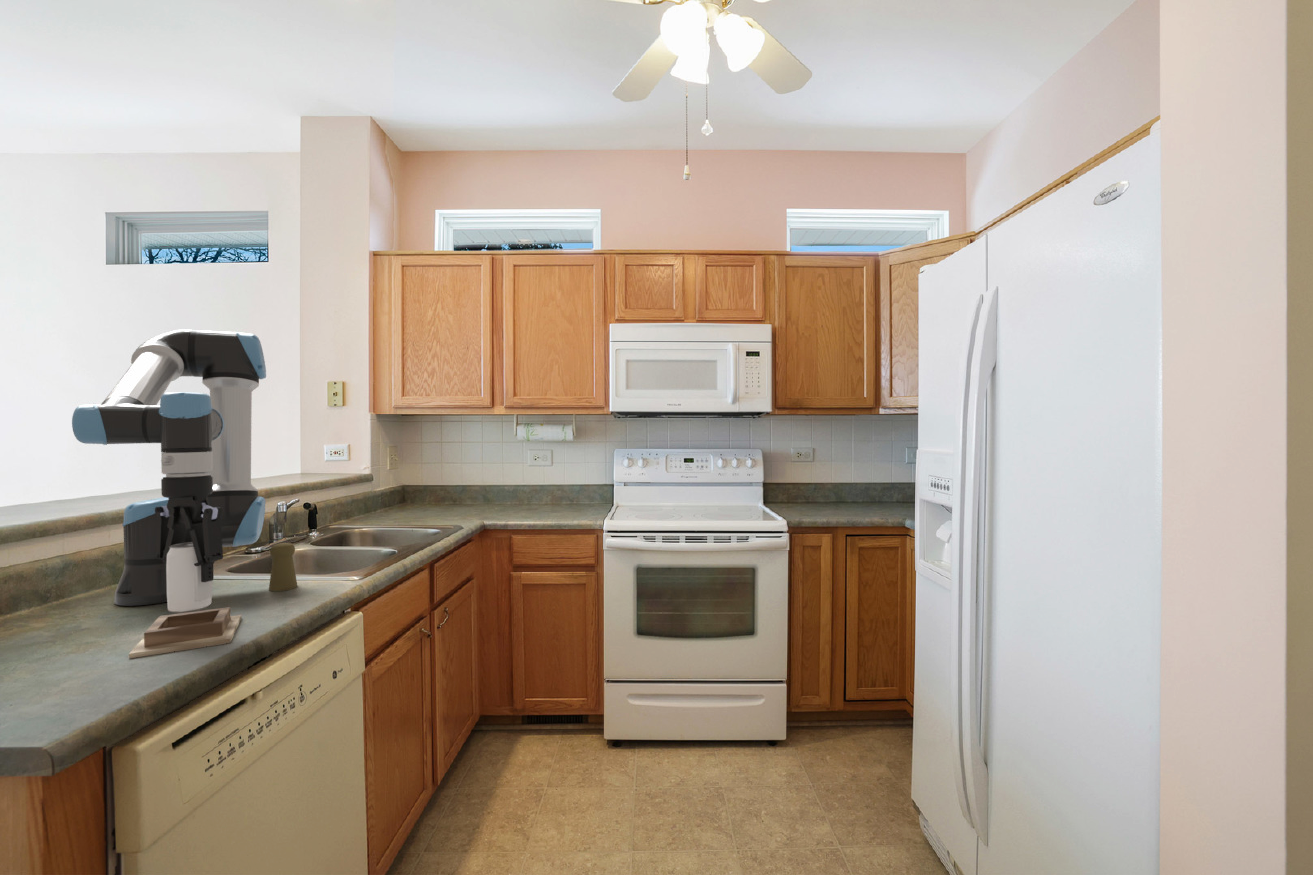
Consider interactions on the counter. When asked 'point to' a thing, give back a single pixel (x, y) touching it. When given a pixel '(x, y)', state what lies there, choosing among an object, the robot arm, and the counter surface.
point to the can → (182, 579)
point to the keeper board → (187, 632)
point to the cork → (282, 567)
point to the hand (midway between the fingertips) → (189, 597)
